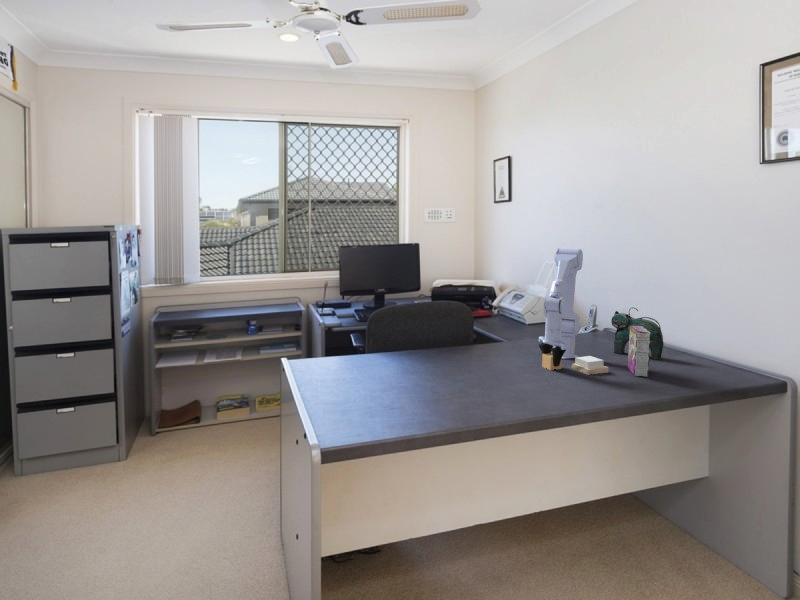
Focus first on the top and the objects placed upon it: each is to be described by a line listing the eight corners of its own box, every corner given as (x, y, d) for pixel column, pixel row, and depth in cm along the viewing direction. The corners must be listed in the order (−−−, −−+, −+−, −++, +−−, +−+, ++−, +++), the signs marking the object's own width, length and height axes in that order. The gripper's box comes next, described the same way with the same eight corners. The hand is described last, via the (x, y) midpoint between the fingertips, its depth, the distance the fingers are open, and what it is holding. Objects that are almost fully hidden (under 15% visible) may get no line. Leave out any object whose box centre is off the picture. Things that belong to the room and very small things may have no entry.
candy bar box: (626, 368, 197) (629, 325, 195) (640, 368, 196) (643, 325, 194) (633, 376, 186) (636, 331, 184) (648, 377, 185) (651, 332, 183)
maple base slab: (571, 370, 197) (572, 363, 196) (590, 367, 200) (591, 361, 200) (588, 376, 189) (588, 369, 188) (608, 373, 192) (608, 367, 192)
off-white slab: (574, 364, 196) (575, 357, 196) (589, 362, 199) (590, 355, 198) (588, 368, 190) (588, 362, 189) (603, 366, 192) (603, 360, 192)
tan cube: (541, 366, 199) (542, 354, 198) (552, 365, 201) (553, 352, 200) (550, 370, 194) (550, 357, 194) (561, 368, 196) (561, 355, 196)
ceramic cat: (608, 353, 220) (611, 306, 217) (614, 350, 224) (616, 304, 221) (659, 361, 207) (663, 311, 204) (664, 357, 212) (667, 309, 209)
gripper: (532, 326, 201) (531, 360, 203) (556, 333, 187) (555, 370, 189) (547, 324, 203) (546, 358, 205) (572, 332, 190) (571, 368, 192)
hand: (551, 364), depth 197 cm, fingers closed on tan cube, 5 cm apart
